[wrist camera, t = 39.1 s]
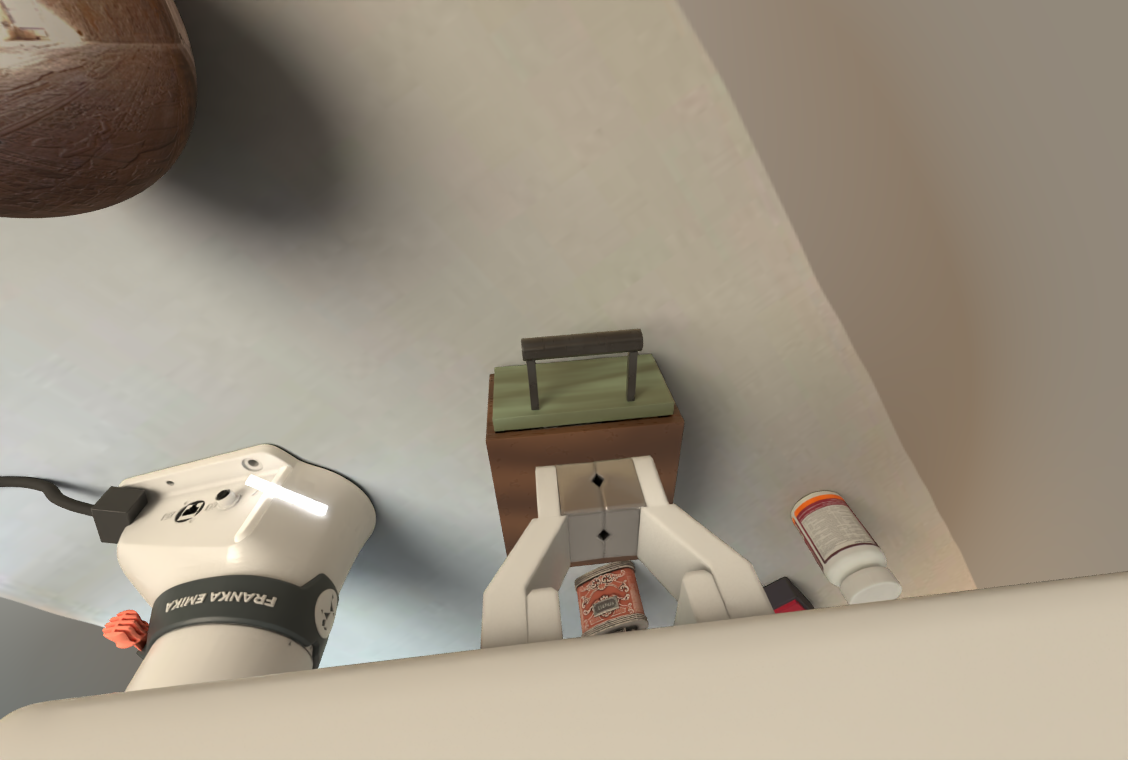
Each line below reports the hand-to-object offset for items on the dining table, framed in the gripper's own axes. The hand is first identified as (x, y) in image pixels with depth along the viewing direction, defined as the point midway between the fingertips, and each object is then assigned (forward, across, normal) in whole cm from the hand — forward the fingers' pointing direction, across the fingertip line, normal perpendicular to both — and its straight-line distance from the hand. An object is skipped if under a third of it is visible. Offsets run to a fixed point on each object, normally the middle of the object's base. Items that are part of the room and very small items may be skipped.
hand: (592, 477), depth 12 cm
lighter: (+25, +5, -45) cm, 52 cm away
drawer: (+24, +2, -17) cm, 30 cm away
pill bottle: (+25, +30, -36) cm, 53 cm away
